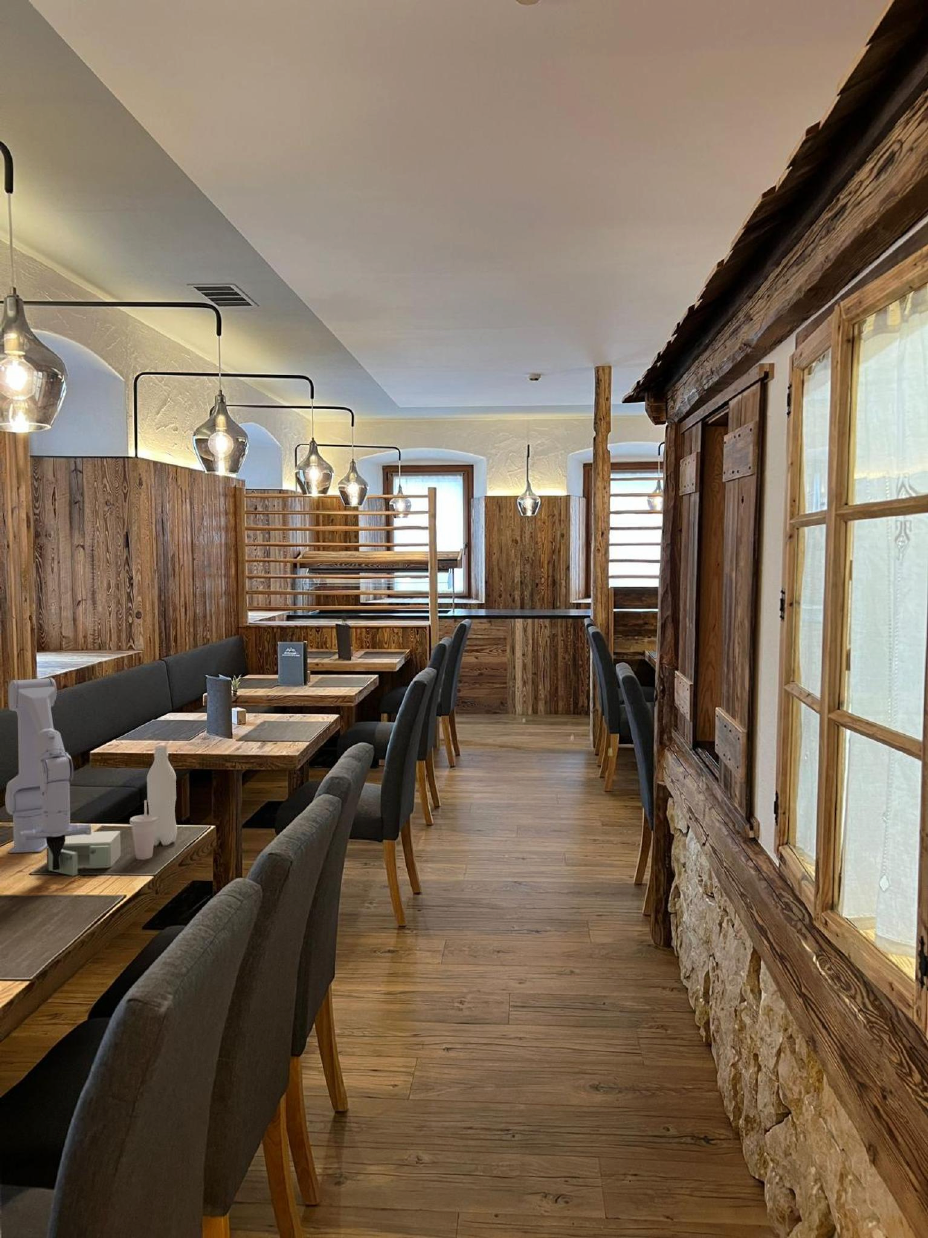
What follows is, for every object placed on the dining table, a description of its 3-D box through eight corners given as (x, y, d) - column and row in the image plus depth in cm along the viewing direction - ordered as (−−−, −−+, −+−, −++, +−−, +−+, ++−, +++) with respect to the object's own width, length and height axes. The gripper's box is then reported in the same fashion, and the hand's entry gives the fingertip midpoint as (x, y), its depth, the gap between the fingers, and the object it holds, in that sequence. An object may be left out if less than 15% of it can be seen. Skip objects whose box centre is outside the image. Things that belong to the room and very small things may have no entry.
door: (50, 867, 211) (49, 846, 210) (77, 874, 206) (77, 852, 206) (42, 870, 209) (41, 849, 208) (69, 877, 204) (69, 855, 204)
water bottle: (183, 841, 232) (181, 745, 231) (160, 849, 226) (158, 750, 225) (164, 837, 236) (163, 742, 235) (141, 844, 230) (139, 747, 229)
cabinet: (61, 857, 220) (60, 832, 219) (120, 855, 221) (120, 831, 221) (45, 873, 208) (44, 847, 208) (108, 870, 210) (107, 845, 210)
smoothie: (149, 862, 216) (148, 804, 215) (124, 860, 217) (123, 803, 217) (163, 853, 222) (162, 797, 222) (139, 852, 224) (138, 796, 223)
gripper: (20, 817, 198) (21, 878, 199) (91, 810, 204) (92, 869, 205) (20, 809, 204) (21, 868, 205) (89, 803, 211) (90, 860, 212)
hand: (56, 868), depth 206 cm, fingers closed, pressing on door
